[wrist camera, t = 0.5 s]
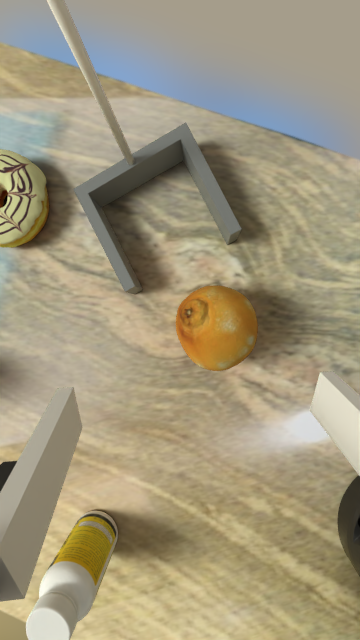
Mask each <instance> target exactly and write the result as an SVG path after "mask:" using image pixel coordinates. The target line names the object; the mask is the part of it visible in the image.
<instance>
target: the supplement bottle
mask: <svg viewBox="0 0 360 640" xmlns="http://www.w3.org/2000/svg"><path fill="white" fill-rule="evenodd" d="M117 539H118V530H117V526H116V524H115V522H114V520H113V519H112V518H111V517H110V516H109V515H108V514H106V513H104V512H101V511H90V512H87V513H85V514H84V515H82V516H81V517H80V519H79V520H78V521H77V523H76V524H75V526H74V528H73V529H72V531H71V533H70V534H69V536H68V538H67V539H66V541H65V542H64V544H63V546H62V547H61V549H60V551H59V552H58V554H57V556H56V557H55V559H54V560H53V562H52V564H51V565H50V567H49V568H48V570H47V572H46V574H45V575H44V577H43V579H42V582H41V585H40V590H39V600H38V601H37V602H36V604H35V606H34V608H33V610H32V611H31V613H30V615H29V617H28V619H27V622H26V633H27V637H28V639H29V640H70V638H71V636H72V634H73V631H74V629H75V626H76V624H77V622H78V621H80V620H82V619H83V618H84V617H85V616H86V615H87V614H88V612H89V611H90V609H91V607H92V605H93V602H94V600H95V597H96V595H97V592H98V589H99V587H100V584H101V582H102V579H103V576H104V574H105V571H106V569H107V566H108V564H109V561H110V559H111V556H112V553H113V551H114V548H115V545H116V543H117Z"/></svg>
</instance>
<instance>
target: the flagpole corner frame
mask: <svg viewBox="0 0 360 640" xmlns="http://www.w3.org/2000/svg"><path fill="white" fill-rule="evenodd" d="M47 2H48V4H49V6H50V8H51V10H52V12H53V14H54V16H55V18H56V20H57V22H58V24H59V26H60V28H61V30H62V32H63V34H64V37H65V38H66V41H67V42H68V44H69V47H70V49H71V50H72V52H73V55H74V57H75V59H76V61H77V63H78V65H79V67H80V69H81V71H82V73H83V75H84V77H85V79H86V81H87V83H88V85H89V87H90V89H91V91H92V93H93V95H94V97H95V99H96V101H97V103H98V105H99V107H100V109H101V111H102V113H103V115H104V117H105V119H106V121H107V123H108V125H109V127H110V129H111V131H112V133H113V135H114V137H115V139H116V141H117V143H118V145H119V147H120V149H121V151H122V153H123V155H124V158H125V159H123V160H122V161H120V162H118V163H117V164H115V165H113V166H111V167H110V168H108V169H106V170H105V171H103V172H101V173H100V174H98V175H96V176H95V177H93V178H91V179H89V180H88V181H86V182H84V183H83V184H81V185H79V186H78V187H76V188H74V191H75V193H76V195H77V197H78V199H79V201H80V203H81V205H82V207H83V209H84V211H85V213H86V215H87V217H88V219H89V221H90V223H91V225H92V227H93V229H94V231H95V233H96V235H97V237H98V239H99V241H100V243H101V245H102V247H103V249H104V251H105V253H106V255H107V257H108V259H109V261H110V263H111V265H112V267H113V269H114V271H115V273H116V275H117V277H118V279H119V281H120V283H121V285H122V287H123V289H124V291H125V292H128V293H131V294H136V293H138V292H140V291H141V290H143V289H142V287H141V285H140V283H139V281H138V279H137V277H136V275H135V273H134V271H133V269H132V267H131V265H130V263H129V261H128V259H127V257H126V255H125V253H124V251H123V249H122V247H121V245H120V243H119V241H118V239H117V237H116V235H115V233H114V231H113V229H112V227H111V225H110V223H109V221H108V220H107V218H106V216H105V214H104V212H103V210H102V207H104V206H105V205H107V204H109V203H111V202H112V201H114V200H116V199H118V198H119V197H121V196H123V195H124V194H126V193H128V192H130V191H131V190H133V189H135V188H137V187H138V186H140V185H142V184H144V183H145V182H147V181H149V180H150V179H152V178H154V177H156V176H157V175H159V174H161V173H163V172H164V171H166V170H168V169H170V168H171V167H173V166H175V165H176V164H178V163H180V162H182V161H184V163H185V164H186V166H187V168H188V170H189V172H190V174H191V176H192V178H193V180H194V182H195V184H196V186H197V188H198V189H199V191H200V193H201V195H202V197H203V199H204V201H205V203H206V205H207V207H208V209H209V211H210V213H211V215H212V216H213V218H214V220H215V222H216V224H217V226H218V228H219V230H220V232H221V234H222V236H223V238H224V240H225V241H226V243H227V245H228V244H230V243H232V242H233V241H235V240H237V238H238V236H239V234H240V231H241V227H240V225H239V223H238V221H237V219H236V217H235V216H234V214H233V212H232V210H231V208H230V206H229V204H228V202H227V200H226V198H225V196H224V194H223V193H222V191H221V189H220V187H219V185H218V183H217V181H216V179H215V177H214V175H213V173H212V172H211V170H210V168H209V166H208V164H207V162H206V160H205V158H204V156H203V154H202V152H201V150H200V149H199V147H198V145H197V143H196V141H195V139H194V137H193V135H192V133H191V131H190V129H189V127H188V126H187V124H186V123H184V124H182V125H181V126H179V127H177V128H176V129H174V130H172V131H171V132H169V133H167V134H166V135H164V136H162V137H160V138H159V139H157V140H155V141H154V142H152V143H150V144H149V145H147V146H145V147H144V148H142V149H140V150H139V151H137V152H135V153H133V154H132V153H131V151H130V149H129V147H128V144H127V142H126V140H125V137H124V135H123V133H122V131H121V128H120V126H119V124H118V122H117V119H116V117H115V115H114V112H113V110H112V108H111V106H110V103H109V101H108V99H107V97H106V94H105V92H104V90H103V87H102V85H101V83H100V81H99V78H98V76H97V74H96V72H95V69H94V67H93V65H92V63H91V60H90V58H89V56H88V54H87V51H86V49H85V47H84V44H83V42H82V40H81V38H80V35H79V33H78V31H77V29H76V26H75V24H74V22H73V19H72V17H71V15H70V13H69V10H68V8H67V6H66V4H65V1H64V0H47Z"/></svg>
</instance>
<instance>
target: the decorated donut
mask: <svg viewBox="0 0 360 640" xmlns="http://www.w3.org/2000/svg"><path fill="white" fill-rule="evenodd" d="M7 195H8V199H7V203H6V205H5V206H4V207H3V203H4V199H5V197H6V196H7ZM48 213H49V199H48V193H47V189H46V177H45V175H44V174H43V172H42V171H41V170H40V169H39V168H38V167H37V166H36V165H34V164H33V163H32V162H30V161H29V160H28V159H27V158H25V157H23V156H21V155H19V154H17V153H14V152H11V151H8V150H1V149H0V247H16V246H19V245H22V244H24V243H27V242H29V241H31V240H32V239H33V238H34V237H35V236H36V235H37V234H38V233H39V232H40V231H41V229H42V228H43V226H44V225H45V223H46V220H47V217H48Z"/></svg>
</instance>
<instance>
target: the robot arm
mask: <svg viewBox="0 0 360 640" xmlns="http://www.w3.org/2000/svg"><path fill="white" fill-rule="evenodd" d="M310 412H311V413H312V414H313V416H314V417H315V418H316V419H317V421H318V422H319V423H320V425H321V426H322V427H323V429H324V430H325V431H326V433H327V434H328V435H329V436H330V438H331V439H332V440H333V442H334V443H335V444H336V446H337V447H338V448H339V450H340V451H341V452H342V453H343V455H344V456H345V457H346V459H347V460H348V461H349V463H350V464H351V465H352V467H353V468H354V469H355V470H356V472H357V473H358V474H359V476H358V477H356V479H355V480H354V481H353V482H352V483H351V484H350V486H349V487H348V489H347V490H346V492H345V494H344V496H343V498H342V501H341V503H340V507H339V512H338V532H339V537H340V540H341V543H342V546H343V548H344V551H345V553H346V554H347V556H348V558H349V560H350V561H351V563H352V564H353V566H354V568H355V569H356V571H357V573H358V574H359V576H360V395H359V394H358V393H357V392H356V391H354V390H353V389H352V388H351V387H350V386H349V385H348V384H347V383H346V382H345V381H343V380H342V379H341V378H340V377H339V376H338V375H337V374H336V373H335V372H334V371H330V372H320V374H319V378H318V382H317V386H316V389H315V393H314V397H313V400H312V404H311V408H310ZM81 430H82V423H81V419H80V414H79V410H78V405H77V401H76V397H75V392H74V388H73V387H67V388H58V389H57V390H56V392H55V394H54V396H53V398H52V399H51V401H50V403H49V405H48V407H47V408H46V410H45V412H44V414H43V416H42V418H41V419H40V421H39V423H38V425H37V427H36V428H35V430H34V432H33V434H32V436H31V437H30V439H29V441H28V443H27V445H26V447H25V448H24V450H23V452H22V454H21V456H20V457H19V459H18V461H11V462H3V463H2V464H1V465H0V601H8V600H16V599H24V598H25V595H26V592H27V589H28V586H29V583H30V581H31V578H32V575H33V572H34V569H35V566H36V563H37V560H38V557H39V554H40V551H41V548H42V545H43V542H44V539H45V536H46V533H47V530H48V527H49V524H50V522H51V519H52V516H53V513H54V510H55V507H56V504H57V501H58V498H59V495H60V492H61V489H62V486H63V483H64V480H65V477H66V474H67V471H68V468H69V465H70V463H71V460H72V457H73V454H74V451H75V448H76V445H77V442H78V439H79V436H80V433H81Z"/></svg>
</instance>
